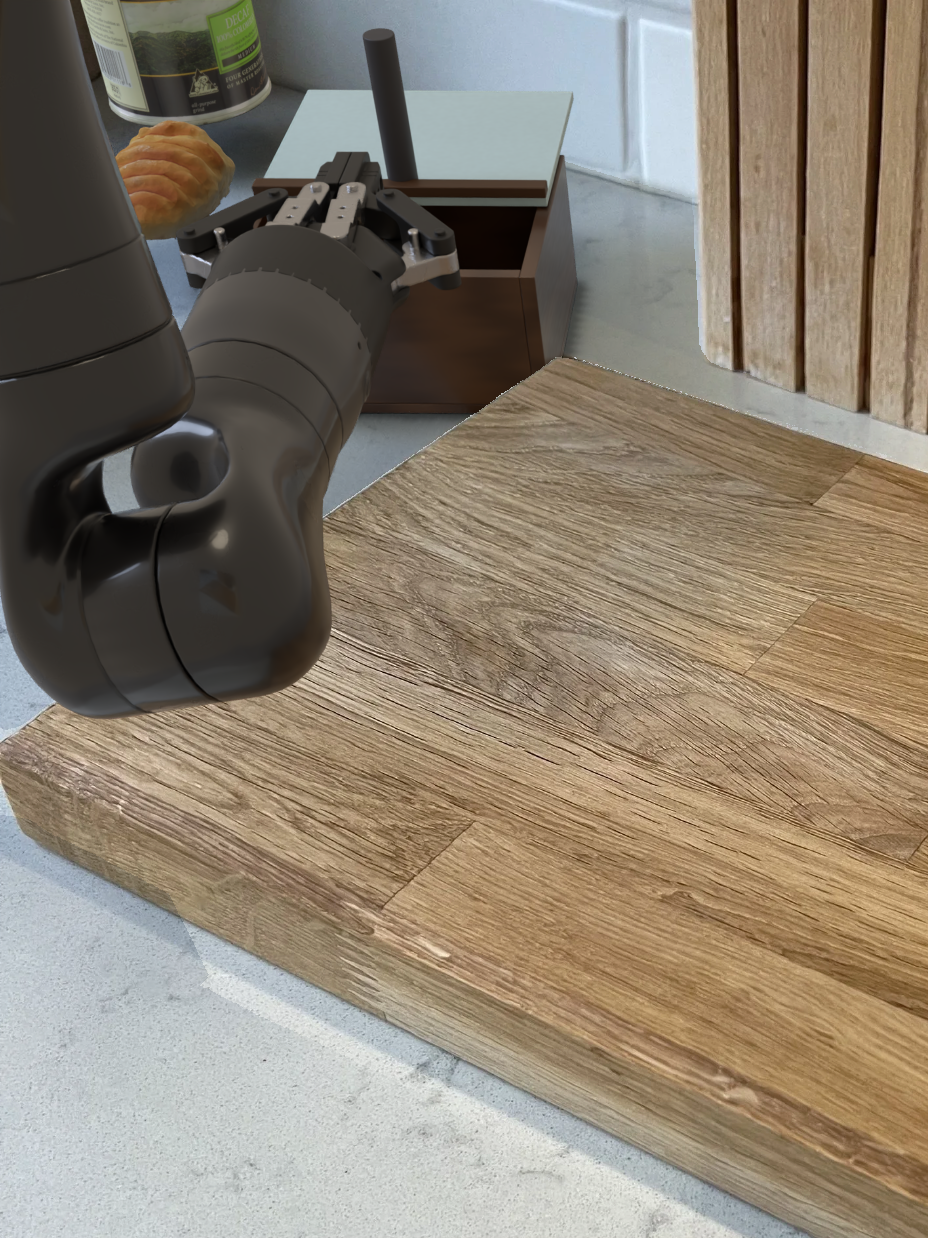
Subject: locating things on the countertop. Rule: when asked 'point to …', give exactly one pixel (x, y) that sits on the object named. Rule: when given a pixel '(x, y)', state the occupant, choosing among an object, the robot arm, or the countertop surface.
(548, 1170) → the countertop surface
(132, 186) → the pastry
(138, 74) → the coffee can
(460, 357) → the case
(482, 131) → the glass door
